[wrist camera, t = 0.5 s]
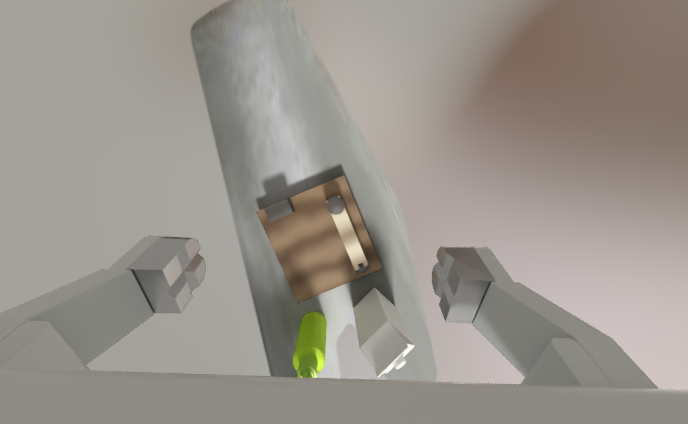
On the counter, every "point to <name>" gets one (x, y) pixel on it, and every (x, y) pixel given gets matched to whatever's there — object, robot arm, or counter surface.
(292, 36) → the counter surface
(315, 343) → the soap dispenser
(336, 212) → the folding leg
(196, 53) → the counter surface
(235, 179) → the counter surface
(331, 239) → the wooden tray
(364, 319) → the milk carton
